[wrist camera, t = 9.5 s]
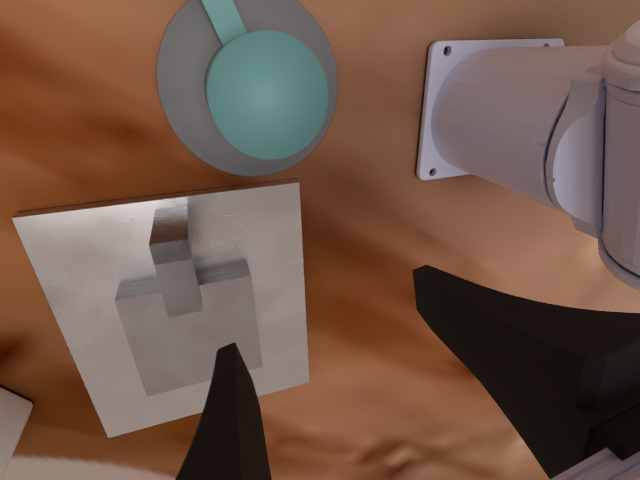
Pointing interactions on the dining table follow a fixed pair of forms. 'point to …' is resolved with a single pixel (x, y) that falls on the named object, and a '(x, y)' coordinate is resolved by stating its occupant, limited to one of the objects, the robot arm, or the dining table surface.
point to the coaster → (190, 67)
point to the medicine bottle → (11, 424)
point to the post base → (126, 255)
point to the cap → (262, 87)
